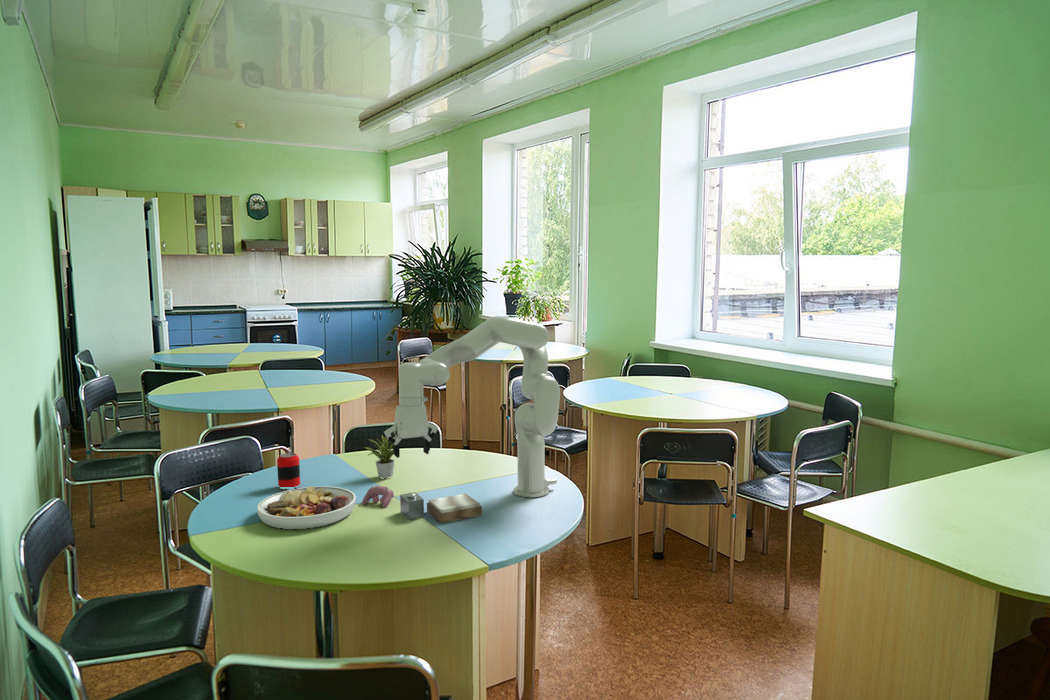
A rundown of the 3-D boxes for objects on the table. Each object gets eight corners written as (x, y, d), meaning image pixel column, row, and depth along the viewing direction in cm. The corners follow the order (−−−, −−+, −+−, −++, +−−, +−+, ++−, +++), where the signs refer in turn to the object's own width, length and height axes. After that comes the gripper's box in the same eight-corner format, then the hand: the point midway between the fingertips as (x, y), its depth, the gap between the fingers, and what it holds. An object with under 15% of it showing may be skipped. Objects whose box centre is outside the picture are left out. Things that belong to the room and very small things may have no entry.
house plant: (388, 468, 265) (387, 428, 263) (413, 474, 257) (412, 433, 255) (360, 477, 253) (358, 435, 252) (385, 484, 245) (384, 440, 243)
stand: (466, 504, 222) (466, 492, 222) (481, 515, 212) (481, 503, 211) (426, 511, 216) (426, 499, 215) (441, 523, 205) (440, 511, 205)
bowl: (236, 526, 205) (235, 501, 204) (300, 496, 233) (299, 474, 232) (317, 538, 195) (316, 512, 194) (374, 505, 223) (373, 483, 222)
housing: (415, 510, 218) (414, 489, 217) (424, 517, 211) (423, 496, 210) (400, 512, 215) (400, 491, 215) (409, 520, 208) (408, 498, 208)
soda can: (302, 488, 241) (301, 455, 240) (281, 491, 237) (279, 459, 236) (297, 482, 248) (295, 451, 246) (276, 486, 243) (274, 454, 242)
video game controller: (392, 509, 223) (397, 488, 225) (384, 507, 219) (389, 486, 221) (368, 505, 227) (373, 485, 229) (360, 503, 223) (365, 482, 225)
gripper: (433, 397, 217) (433, 449, 219) (381, 401, 209) (381, 455, 210) (441, 401, 210) (441, 454, 212) (388, 405, 202) (388, 460, 204)
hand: (411, 454), depth 211 cm, fingers open, 9 cm apart
